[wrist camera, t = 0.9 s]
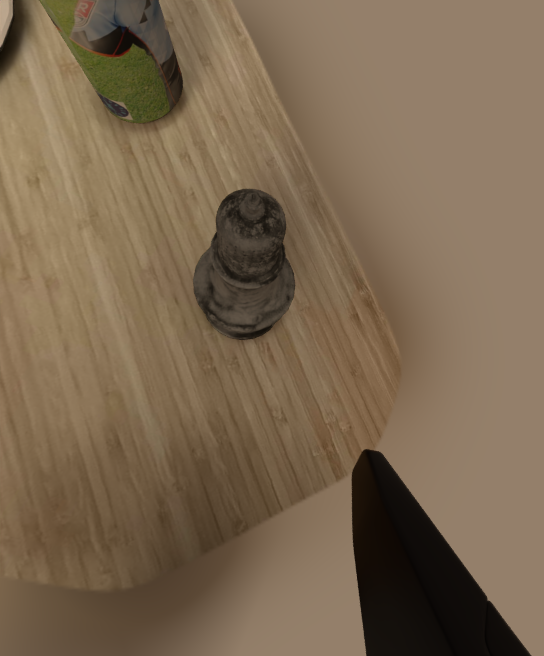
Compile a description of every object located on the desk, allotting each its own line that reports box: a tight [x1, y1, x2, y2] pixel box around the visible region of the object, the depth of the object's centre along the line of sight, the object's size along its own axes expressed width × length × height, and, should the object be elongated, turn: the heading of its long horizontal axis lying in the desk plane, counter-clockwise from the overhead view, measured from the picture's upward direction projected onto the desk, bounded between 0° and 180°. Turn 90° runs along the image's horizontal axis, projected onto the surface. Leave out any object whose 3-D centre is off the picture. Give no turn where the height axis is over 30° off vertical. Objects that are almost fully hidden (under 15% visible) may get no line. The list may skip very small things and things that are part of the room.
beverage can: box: [39, 0, 183, 123], centre depth 21 cm, size 6×7×12 cm
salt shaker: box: [193, 189, 295, 340], centre depth 19 cm, size 6×6×12 cm
